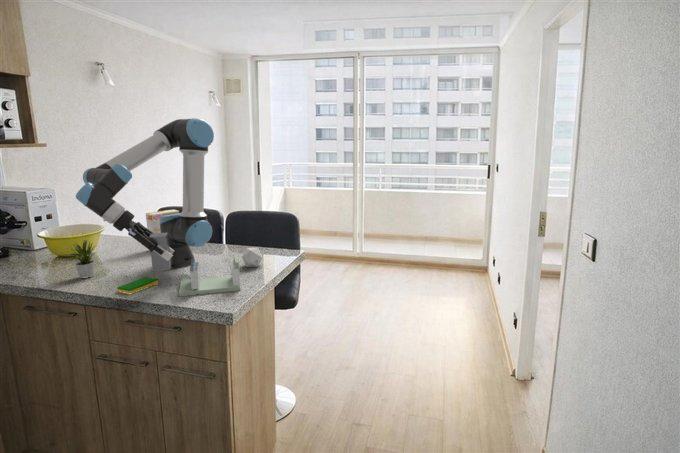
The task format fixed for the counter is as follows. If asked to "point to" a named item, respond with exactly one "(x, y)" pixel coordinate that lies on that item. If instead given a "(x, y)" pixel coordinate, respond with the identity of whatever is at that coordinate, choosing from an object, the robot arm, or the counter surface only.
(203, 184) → the robot arm
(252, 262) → the die
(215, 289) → the vise bed
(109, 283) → the counter surface
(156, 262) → the steel block
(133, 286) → the dish sponge
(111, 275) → the counter surface
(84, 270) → the house plant
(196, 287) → the sliding jaw
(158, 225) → the coffeecake box
